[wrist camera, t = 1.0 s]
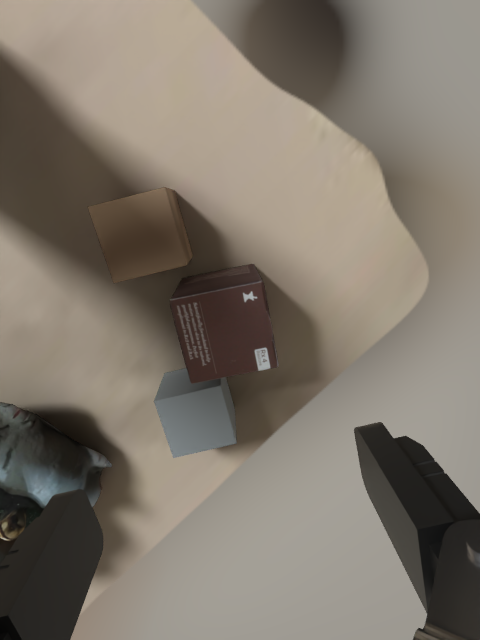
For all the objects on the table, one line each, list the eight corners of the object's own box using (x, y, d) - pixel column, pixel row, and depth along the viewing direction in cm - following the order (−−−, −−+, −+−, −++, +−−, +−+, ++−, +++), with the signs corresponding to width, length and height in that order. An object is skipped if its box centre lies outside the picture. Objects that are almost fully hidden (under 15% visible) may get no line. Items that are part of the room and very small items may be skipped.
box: (180, 276, 30) (167, 297, 23) (255, 262, 30) (264, 278, 23) (197, 346, 32) (189, 386, 25) (267, 333, 32) (279, 369, 25)
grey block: (164, 372, 32) (154, 401, 27) (221, 359, 32) (220, 385, 27) (180, 422, 34) (173, 457, 29) (235, 409, 34) (236, 443, 29)
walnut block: (110, 206, 28) (87, 206, 24) (175, 190, 28) (164, 187, 23) (131, 271, 30) (113, 283, 25) (193, 256, 30) (186, 265, 25)
